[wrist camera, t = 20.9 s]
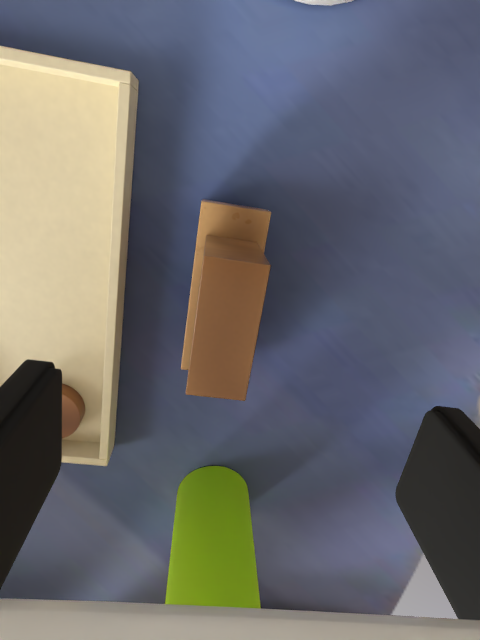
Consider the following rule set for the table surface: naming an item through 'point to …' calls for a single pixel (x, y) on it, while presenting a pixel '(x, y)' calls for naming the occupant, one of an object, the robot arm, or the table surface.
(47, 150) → the tray
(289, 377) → the table surface
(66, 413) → the cork disc
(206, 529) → the lime green pump bottle
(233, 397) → the brush
